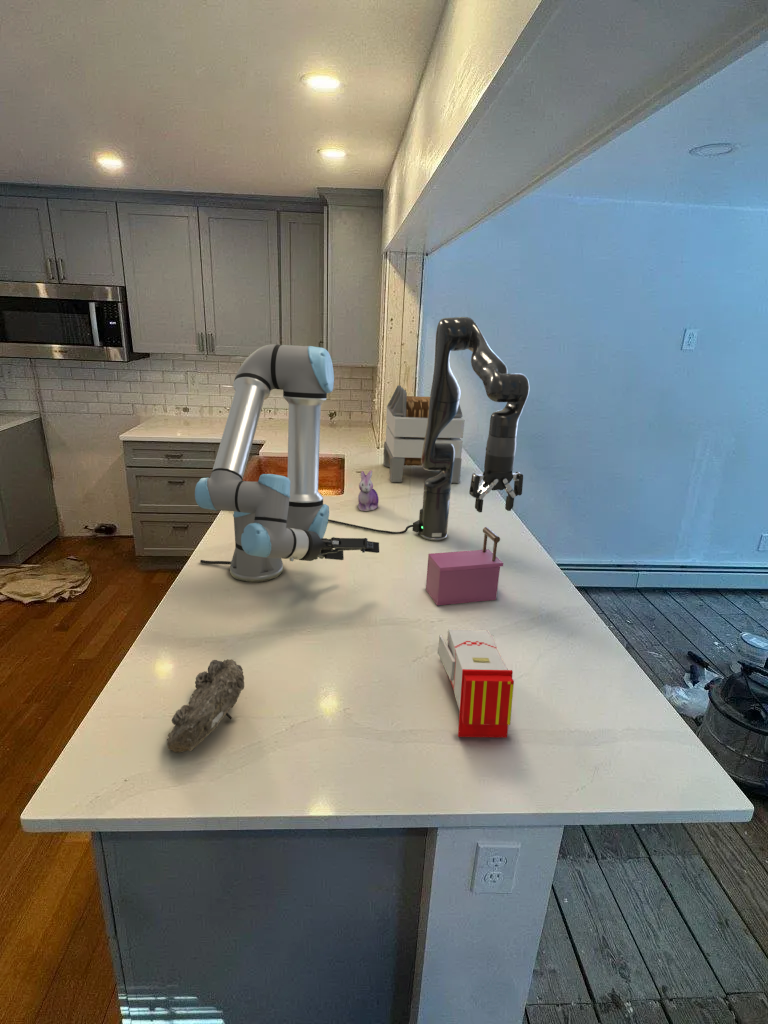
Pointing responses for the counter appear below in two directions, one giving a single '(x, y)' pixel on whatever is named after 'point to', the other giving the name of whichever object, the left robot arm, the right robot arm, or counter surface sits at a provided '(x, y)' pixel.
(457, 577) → the chest
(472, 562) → the lid
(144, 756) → the counter surface
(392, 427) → the grey slatted box
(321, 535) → the left robot arm
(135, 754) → the counter surface
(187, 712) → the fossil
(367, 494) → the figurine
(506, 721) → the toy
